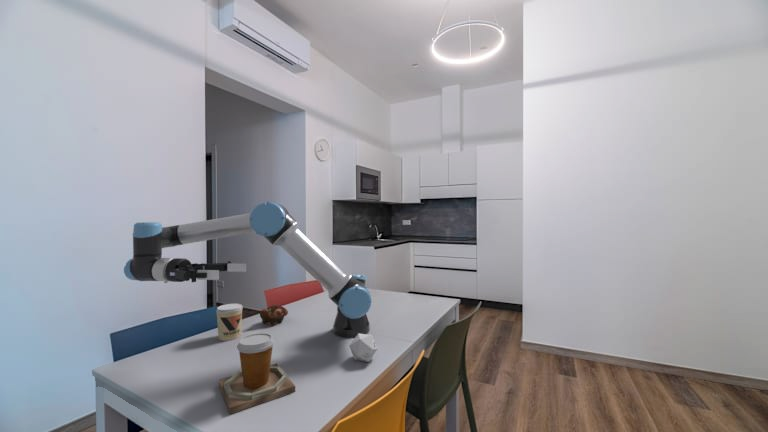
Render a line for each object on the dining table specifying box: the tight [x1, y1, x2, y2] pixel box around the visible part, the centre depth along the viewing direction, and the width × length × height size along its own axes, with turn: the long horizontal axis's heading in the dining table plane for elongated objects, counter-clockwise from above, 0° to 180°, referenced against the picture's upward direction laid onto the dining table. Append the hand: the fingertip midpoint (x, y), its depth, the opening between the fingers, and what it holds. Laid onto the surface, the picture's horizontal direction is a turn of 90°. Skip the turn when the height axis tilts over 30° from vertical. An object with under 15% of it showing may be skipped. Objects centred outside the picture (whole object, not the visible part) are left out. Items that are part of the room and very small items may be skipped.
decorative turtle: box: [259, 305, 289, 326], centre depth 137 cm, size 10×15×8 cm, turn 158°
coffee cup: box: [215, 303, 244, 342], centre depth 121 cm, size 9×9×12 cm
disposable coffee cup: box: [236, 332, 275, 388], centre depth 84 cm, size 10×10×12 cm
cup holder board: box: [218, 363, 296, 415], centre depth 84 cm, size 16×16×2 cm
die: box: [348, 333, 378, 363], centre depth 101 cm, size 8×9×10 cm
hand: (233, 271), depth 97 cm, fingers open, 13 cm apart
